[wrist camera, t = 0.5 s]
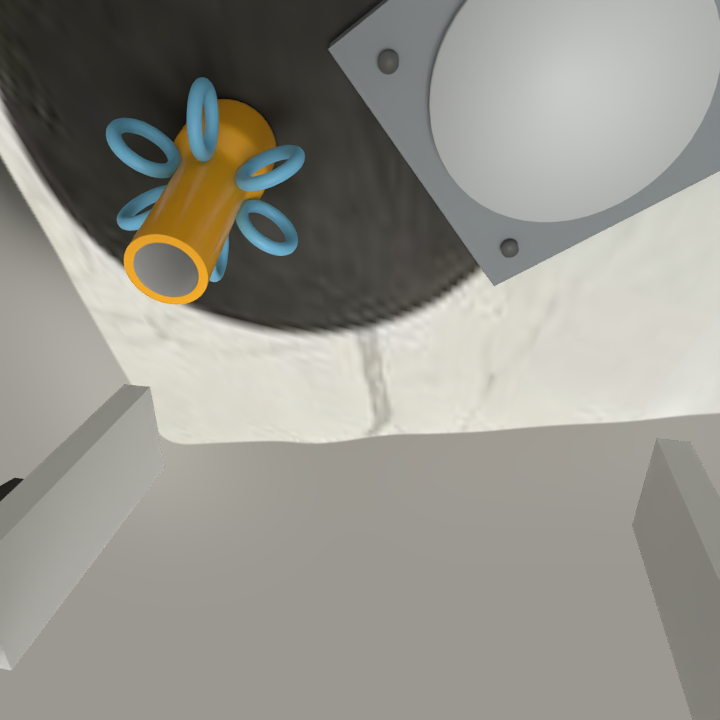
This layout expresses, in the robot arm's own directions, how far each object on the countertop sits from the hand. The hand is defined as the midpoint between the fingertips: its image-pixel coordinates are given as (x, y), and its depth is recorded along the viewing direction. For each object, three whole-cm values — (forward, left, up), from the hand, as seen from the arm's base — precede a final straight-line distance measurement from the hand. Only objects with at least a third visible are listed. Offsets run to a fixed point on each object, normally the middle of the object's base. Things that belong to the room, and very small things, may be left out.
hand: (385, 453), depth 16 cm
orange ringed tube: (-3, -11, -29) cm, 31 cm away
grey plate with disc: (+6, +8, -29) cm, 30 cm away
